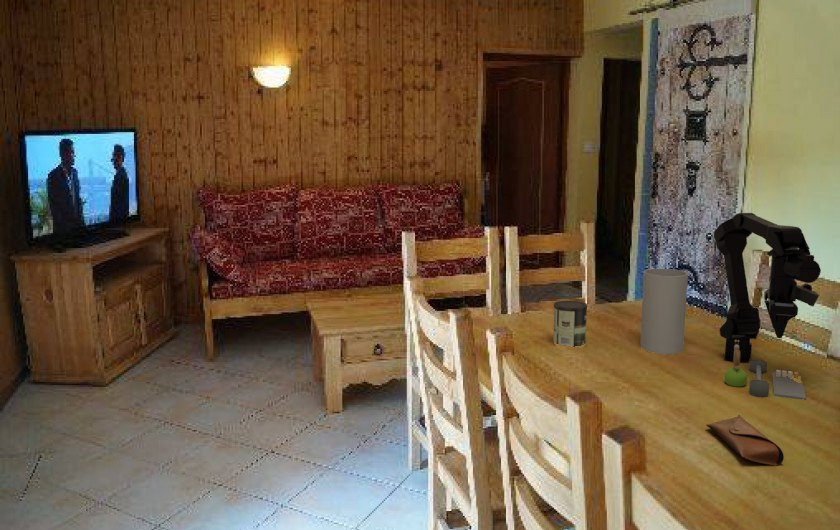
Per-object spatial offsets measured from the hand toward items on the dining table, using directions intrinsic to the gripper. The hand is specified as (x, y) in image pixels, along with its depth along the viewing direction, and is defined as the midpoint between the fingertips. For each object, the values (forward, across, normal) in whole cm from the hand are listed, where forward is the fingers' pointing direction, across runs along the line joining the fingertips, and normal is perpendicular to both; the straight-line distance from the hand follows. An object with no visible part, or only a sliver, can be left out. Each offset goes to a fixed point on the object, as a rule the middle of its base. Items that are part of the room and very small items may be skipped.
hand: (777, 333), depth 183 cm
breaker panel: (+14, -4, -3) cm, 15 cm away
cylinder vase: (+14, +19, +29) cm, 38 cm away
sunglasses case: (+15, -46, +12) cm, 49 cm away
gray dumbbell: (+14, -3, +4) cm, 15 cm away
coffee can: (+14, +15, +56) cm, 60 cm away
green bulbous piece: (+14, -6, +10) cm, 18 cm away
